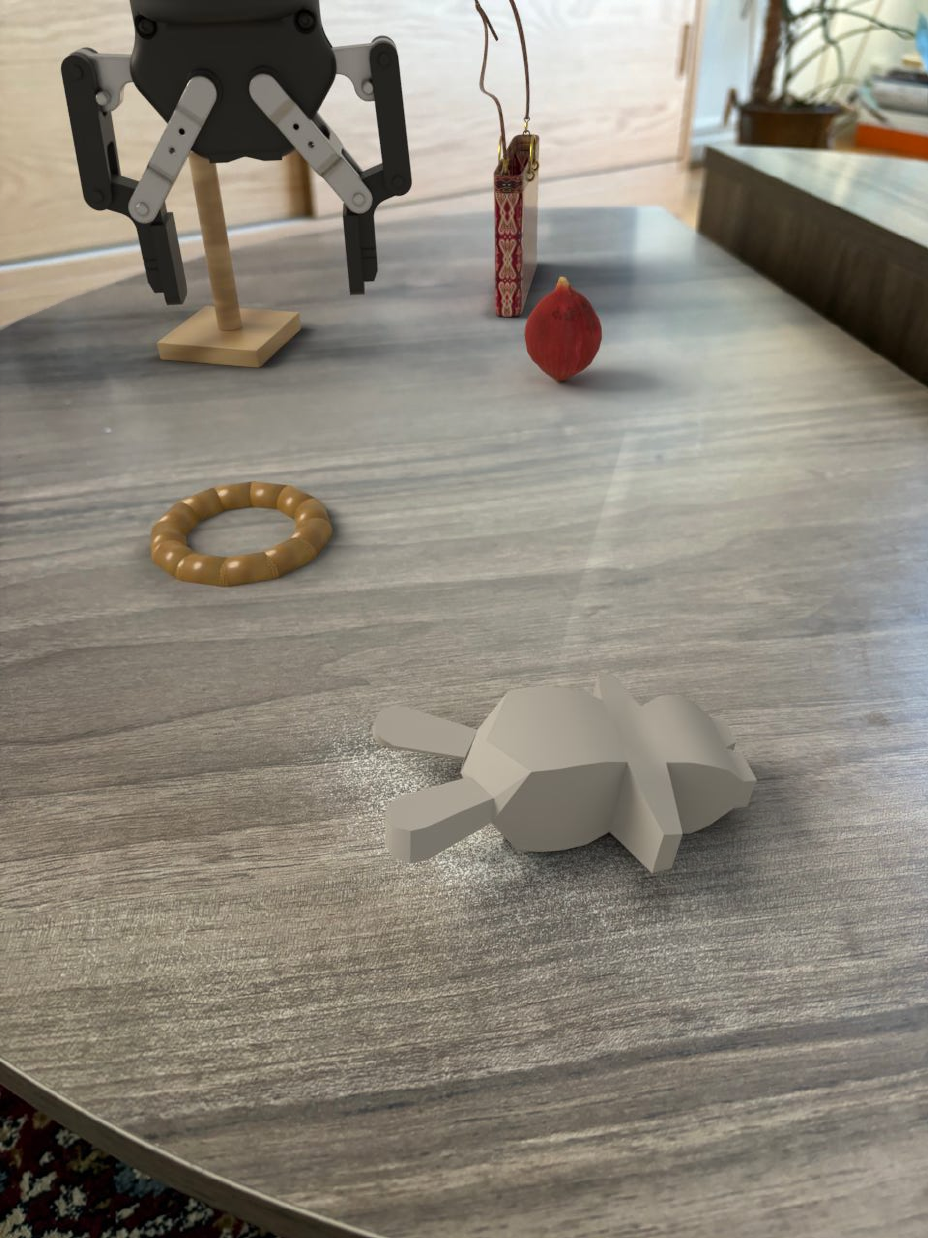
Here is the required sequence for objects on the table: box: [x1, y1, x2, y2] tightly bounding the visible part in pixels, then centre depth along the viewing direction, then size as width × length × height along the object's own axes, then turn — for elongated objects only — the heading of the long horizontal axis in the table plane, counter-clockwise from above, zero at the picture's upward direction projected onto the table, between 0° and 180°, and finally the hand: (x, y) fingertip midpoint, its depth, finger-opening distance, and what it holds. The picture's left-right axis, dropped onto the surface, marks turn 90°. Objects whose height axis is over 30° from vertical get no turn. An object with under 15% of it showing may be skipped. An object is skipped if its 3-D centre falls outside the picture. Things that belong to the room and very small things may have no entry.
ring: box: [150, 480, 333, 588], centre depth 59 cm, size 10×10×2 cm
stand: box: [156, 151, 302, 369], centre depth 81 cm, size 9×9×16 cm
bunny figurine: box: [371, 672, 758, 874], centre depth 41 cm, size 10×5×15 cm
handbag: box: [474, 0, 540, 318], centre depth 89 cm, size 7×21×25 cm, turn 171°
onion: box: [523, 276, 603, 383], centre depth 75 cm, size 6×6×8 cm
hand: (267, 294), depth 47 cm, fingers open, 8 cm apart
